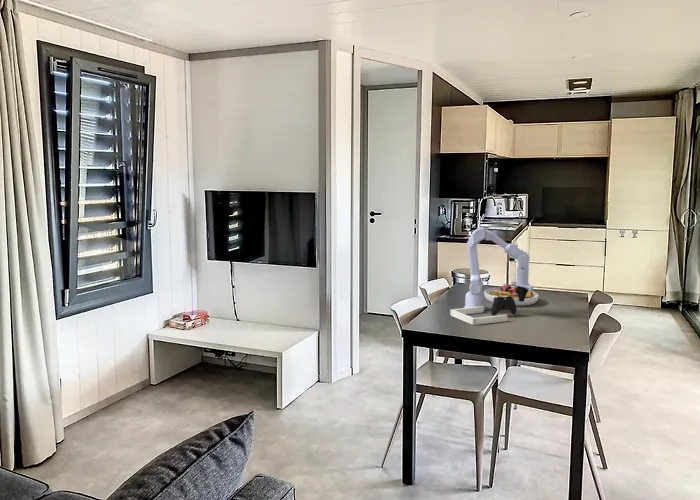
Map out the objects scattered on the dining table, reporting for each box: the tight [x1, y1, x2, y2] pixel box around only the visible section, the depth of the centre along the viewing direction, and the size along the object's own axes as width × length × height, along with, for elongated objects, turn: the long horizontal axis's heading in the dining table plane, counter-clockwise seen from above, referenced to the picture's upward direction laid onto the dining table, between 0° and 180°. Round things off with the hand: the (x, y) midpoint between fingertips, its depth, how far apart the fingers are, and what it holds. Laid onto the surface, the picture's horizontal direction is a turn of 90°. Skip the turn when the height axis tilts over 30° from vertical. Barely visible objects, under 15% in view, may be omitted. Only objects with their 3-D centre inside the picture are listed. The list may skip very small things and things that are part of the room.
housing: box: [449, 306, 508, 326], centre depth 279 cm, size 20×20×3 cm
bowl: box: [483, 283, 539, 307], centre depth 318 cm, size 30×30×8 cm
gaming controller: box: [490, 296, 517, 316], centre depth 285 cm, size 14×6×10 cm, turn 105°
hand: (521, 301), depth 289 cm, fingers closed
